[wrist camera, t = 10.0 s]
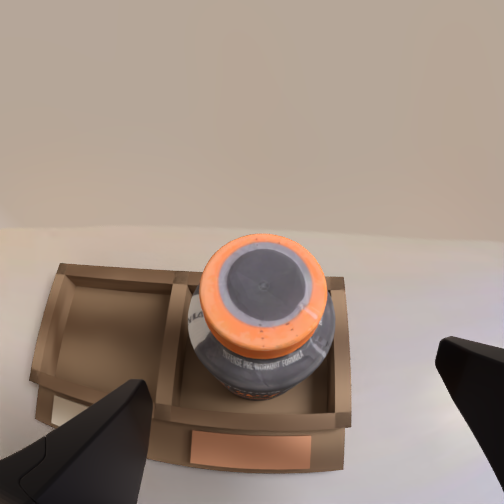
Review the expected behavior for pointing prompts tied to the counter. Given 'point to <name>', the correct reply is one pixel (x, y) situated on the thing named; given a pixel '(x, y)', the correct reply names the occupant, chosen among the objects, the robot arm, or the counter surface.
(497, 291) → the counter surface
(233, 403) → the socket frame
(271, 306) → the pill bottle
